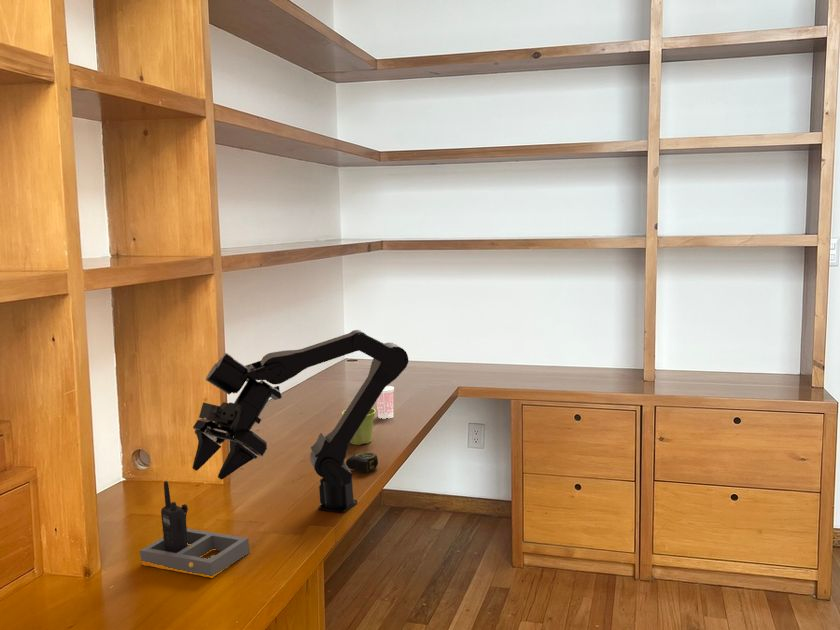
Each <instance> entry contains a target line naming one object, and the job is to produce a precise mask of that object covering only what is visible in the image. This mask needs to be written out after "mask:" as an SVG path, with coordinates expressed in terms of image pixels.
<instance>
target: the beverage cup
mask: <svg viewBox="0 0 840 630" xmlns="http://www.w3.org/2000/svg"><path fill="white" fill-rule="evenodd" d="M394 391H395V387H394V386H393V385H392V386H391V385H387V386H386V387H385V388H384V390H383V391H382V393H381V394H380V396H379V397H378V399H377V400H376V406H377V407H376V408H377V414H378V419H381V418H382V420H387V419H386V418H388V419H392V418H394Z"/></svg>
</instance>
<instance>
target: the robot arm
mask: <svg viewBox="0 0 840 630" xmlns="http://www.w3.org/2000/svg"><path fill="white" fill-rule="evenodd" d="M355 352H361V353H363V354H365V355H367V356H368V357H371V358H372V362H371V365H370V368H369V372H368V375H367V377H366V379H364V382H363V383H362V385H361V386H360V388H359V390H358V391H357V392H356V394H355V395H354V397H353V399H352V401H351V402H349V403H350V404H349V405H348V406H347V408H346V409H345V410H346V411H345V413H344V414H343V415H342V416H341V417H340V419H339V420H338V422H337V423H336V425H335V427H334V429H332V430H331V432H328V434H327V435H325V434H323V432H320V433H319V435H318V438H317V439H316V442H314V443H313V445H312V446H310V450H311V452H310V455H309V460H310V462H311V465H312V467H313V469H314V471H315V473H316V474H317V475H318V476H319V477H320V479H319V483H320V484H319V486H318V492H319V503H320V505H319V506H317V509H318V510H320V511H327V512H335V513H343V514H344V513H345V512H347V511H348V510H349V509H350V508H352V507H353V506H354V505H356V504H357V503H358V499H354V490H353V489H354V487H353V473H352V471H351V469H349V468H348V467H347V465H346V461H345V460H346V456H347V453H348V449H349V446H350V444H351V443H350V441H351V439H352V438H353V436H354V435H355V433H356V432H357V430H358V428H359V427H360V425H361V424H362V422H363V421H364V419H365V418H366V416H367V414H368V413H369V411H370V410H371V408H374V405H375V403H377V401H376V400H377V399H378V397H379V396H380V394H381V393H382V391H383V390H384V388H385V387H386V386H390V385H391V383H392V382H394V381H395V380H396V379H397V378H398V377H399V376H400V375H401V374H403V372H404V371H405V369H407V367H408V364H409V356H408V354H407V352H406V350H405V349H404V348H403V347H401V346H399V345H397V343H394V342H382V341H380V340H378V339H376V338H373V337H371V336H369V335H367V334H366V332H363V331H361V330H359V329H355V330H352V331H351V332H348V333H345V334H343V335H339V336H336V337H334V338H330V339H328V340H325V341H322V342H318V343H315V344H312V345H309V346H306V347H303V348H299V349H291V350H281V351H279V350H278V351H273V352H269V353H266V354H264V356H263V357H262V359H261V360H258V361H255V362H252V363H248V364H247V365H244V364H243V363H241V362H239V361H238V360H236V359H235V358H233V356H232V355H231V354H229V353H228V352H226V353H224V355H223V356H222V357H221V358H220V359H219V360H218V361H217V362H215V363H214V365H213V366H212V368H211V369H210V370H209V372H208V374H207V375H206V378H205V381H206V382H208V383H210V384H211V385H212V386H215V387H216V388H218V389H219V390H220V391H222V392H224V393H225V394H227V396H228V395H231V394H237V393H239V394H238V395H237V397H236V399H235V401H234V402H224V401H223V402H222V403H221V404H220V405H215V404H212V403H208V402H202V405H201V408H200V412H199V415H198V418H199V419H197V420H196V422H195V423H194V425H193V426H192V429H194V434H195V435H196V437H197V440H198V444H197V448H196V452H195V456H194V460H193V464H192V466H191V467H192V469H193V470H194V471H199V469H201V468H202V467H203V466H204V465H205V464H206V463H207V462H208V461H209V460H210V459H211V458H212V457H213V456H214V455H215V454H216V453H217V452H218V451H219V450H220V449H221V448H222V446H221V444H222V443H225V441H228V442H229V453H228V454H227V456H226V458H225V460H224V462H223V464H222V466H221V468H220V470H219V472H218V474H217V478H218V479H219V480H221V481H222V480H224V479H225V478H227V477H229V476H230V475H231V474H233V472H235V471H237V470H238V469H240V468H241V467H243V466H245V465H246V464H247V463H249V462H251V461H252V460H257V458H258V457H263V456H264V455H265V453H266V451H267V449H268V444H267V441H266V440H264V439H263V437H261V436H259V435H257V434H256V433H255V432H254V431H252V428H253V426H254V425H255V424H258V425H259V424H260V423H261V422H262V419H261V417H259V416H260V415H261V413H262V412H263V410H264V408H265V407H266V405H267V403H268V402H269V400H270V398H271V399H272V400H274V401H276V400H280V399H282V393H281V391H280V386H279V385H280V384H283V383H285V382H286V381H288V380H290V379H292V378H294V377H295V376H297V375H298V374H301V372H302V371H304V370H306V369H308V368H310V367H313V366H316V365H320V364H323V363H325V362H329V361H331V360H334V359H337V358H340V357H344V356H346V355H349V354H352V353H355ZM270 384H271V385H270ZM272 385H277V386H272ZM241 389H242V390H241ZM240 390H241V391H240Z"/></svg>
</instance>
